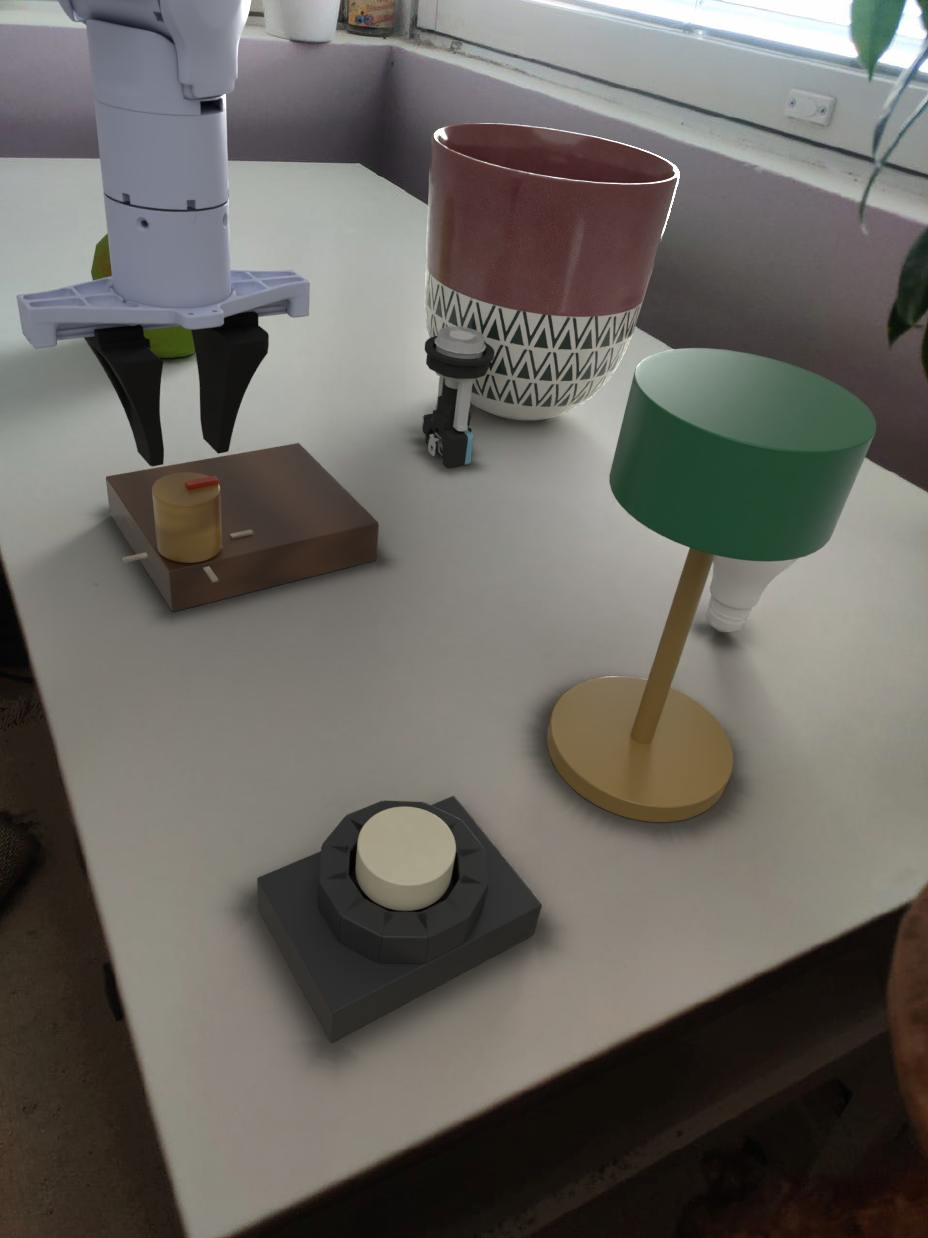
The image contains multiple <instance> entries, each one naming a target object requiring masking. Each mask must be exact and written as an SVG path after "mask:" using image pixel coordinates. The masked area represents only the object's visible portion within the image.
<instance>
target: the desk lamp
mask: <svg viewBox="0 0 928 1238" xmlns="http://www.w3.org/2000/svg"><path fill="white" fill-rule="evenodd" d="M876 431H877V422H876V418H875V416H874V414H873V412H872V411H871V410H870V408H869V407H868V405H866V404H865V403H864V402H863V401H862V400H861V399H860V398H859V397H858V396H856V395H855V394H853V393H852V392H851V391H849V390H847V389H846V388H845V387H843V386H841V385H839V384H837V383H835V382H834V381H832V380H830V379H828V378H826V377H823V376H821V375H819V374H818V373H816V372H812V371H811V370H808V369H806V368H802V367H800V366H797V365H795V364H791V363H788V362H785V361H782V360H778V359H774V358H771V357H766V356H762V355H759V354H758V355H757V354H753V353H748V352H743V351H736V350H730V349H729V350H728V349H721V348H720V349H719V348H708V347H707V348H704V347H701V348H700V347H693V348H692V347H691V348H690V347H689V348H677V349H669V350H664V351H660V352H659V351H658V352H656V353H653V354H651V355H649V356H647V357H645V358H644V359H642V360H640V362H639V363H638V365H637V366H636V367H635V369H634V372H633V376H632V379H631V384H630V388H629V392H628V396H627V401H626V405H625V409H624V413H623V418H622V421H621V426H620V430H619V434H618V438H617V441H616V446H615V450H614V455H613V460H612V463H611V467H610V471H609V475H608V477H609V480H608V481H609V482H608V483H609V486H610V490H611V493H612V494H613V497H614V498H615V500H616V502H617V503H618V504H619V505H620V506H621V508H622V509H623V510H624V511H625V512H626V513H627V514H629V516H631V517H632V518H633V519H635V520H636V521H637V522H638V523H640V524H641V525H643V526H644V527H646V528H647V529H649V530H651V531H652V532H654V533H656V534H658V535H660V536H661V537H663V538H666V539H668V540H671V541H672V542H674V543H676V544H679V545H681V546H684V547H687V548H689V549H688V552H687V555H686V557H685V561H684V563H683V564H684V565H683V568H682V569H681V574H680V577H679V580H678V582H677V586H676V589H675V593H674V596H673V599H672V602H671V604H670V608H669V612H668V614H667V617H666V621H665V624H664V628H663V631H662V634H661V637H660V640H659V642H658V646H657V650H656V652H655V656H654V659H653V661H652V665H651V668H650V672H649V674H648V677H647V679H646V678H640V677H635V676H626V675H625V676H624V675H615V676H614V675H610V676H601V677H596V678H592V679H588V680H585V681H582V682H580V683H578V684H575V685H574V686H572V687H571V688H569V689H567V691H565V692H564V693H563V694H562V695H561V696H560V697H559V699H558V700H557V701H556V703H555V705H554V706H553V709H552V712H551V715H550V718H549V723H548V727H547V732H546V744H547V746H546V747H547V750H548V753H549V757H550V759H551V761H552V764H553V766H554V767H555V769H556V771H557V772H558V773H559V775H560V777H562V779H563V780H564V781H565V783H566V784H567V785H568V786H570V788H571V789H573V790H574V791H575V792H576V793H578V795H580V796H581V797H583V798H584V799H585V800H587V801H588V802H590V803H592V804H593V805H595V806H597V807H599V808H601V809H603V810H605V811H607V812H610V813H611V814H614V815H617V816H621V817H623V818H627V819H631V820H635V821H641V822H649V823H671V822H680V821H684V820H689V819H691V818H694V817H697V816H698V815H701V814H703V813H704V812H706V811H707V810H709V809H710V808H712V807H713V806H714V805H715V804H716V803H717V802H718V801H719V800H720V798H721V797H722V796H723V793H724V792H725V789H726V787H727V784H728V782H729V781H730V778H731V775H732V771H733V768H734V754H733V748H732V744H731V742H730V738H729V737H728V735H727V733H726V731H725V730H724V727H722V725H721V723H720V722H719V721H718V720H717V719H716V717H715V716H714V715H713V714H712V713H711V712H709V711H708V709H706V708H705V707H704V706H703V705H701V704H700V703H699V702H697V701H696V700H694V699H693V698H692V697H690V696H689V695H687V694H685V693H684V692H681V691H680V690H678V689H675V688H673V687H672V684H673V680H674V679H675V675H676V672H677V669H678V666H679V663H680V660H681V657H682V654H683V651H684V647H685V645H686V642H687V640H688V636H689V634H690V630H691V627H692V625H693V621H694V619H695V615H696V612H697V611H698V610H697V609H698V608H699V605H700V604H699V603H700V601H701V599H702V595H703V592H704V589H705V586H706V583H707V580H708V577H709V575H710V572H711V568H712V567H713V560H714V557H715V555H717V556H721V557H727V558H733V559H738V560H748V561H765V562H771V561H785V560H792V559H797V558H799V559H800V558H804V557H808V556H809V555H812V554H815V553H816V552H818V551H819V550H821V549H822V548H824V547H825V546H826V545H827V544H828V542H830V540H831V538H832V536H833V534H834V532H835V530H836V527H837V524H838V522H839V520H840V517H841V515H842V513H843V510H844V507H845V506H846V503H847V501H848V498H849V496H850V494H851V491H852V489H853V487H854V484H855V483H856V479H857V477H858V475H859V473H860V470H861V468H862V466H863V463H864V460H865V458H866V456H867V454H868V451H869V449H870V446H871V444H872V443H873V442H872V441H873V439H874V437H875V434H876Z"/></svg>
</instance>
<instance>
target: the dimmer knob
mask: <svg viewBox="0 0 928 1238" xmlns="http://www.w3.org/2000/svg"><path fill="white" fill-rule="evenodd" d="M152 498H153V509H154V520H155V531H156V542H157V549H158V551H159V553H160V554H161V555H162V556H164V557H165V558H167V559H169V560H172V561H175V562H180V563H196V562H202V561H206V560H208V559H211V558H213V557H214V556H216V555H217V554H218V553H219V552H220V550H221V548H222V522H221V497H220V486H219V480H218V479H217V478H216V476H211V477H209V476H206V475H203V474H198V473H189V472H183V473H174V474H170V475H167V476H164V477H162V478H160V479H159V480H157V481H156V482H155V483H154V485H153V487H152Z"/></svg>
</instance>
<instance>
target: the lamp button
mask: <svg viewBox="0 0 928 1238" xmlns="http://www.w3.org/2000/svg"><path fill="white" fill-rule="evenodd" d="M455 854H456V843H455V839H454V836H453V834H452V832H451V830H450V829H449V827H448V826H447V825H446V824H445V822H444V821H442V820H441V819H440V818H439V817H437V816H436V815H434V814H432V813H431V812H428V811H426V810H423V809H420V808H415V807H394V808H389V809H386V810H383V811H381V812H379V813H377V814H376V815H374V816H373V817H371V818H370V819H369V820H368V821H367V822H366V823H365V824H364V826H363V827H362V829H361V831H360V833H359V837H358V842H357V854H356V866H355V872H356V878H357V881H358V884H359V885H360V887H361V889H362V890H363V892H364V893H365V894H366V895H367V896H368V897H369V898H370V899H371V900H372V901H374V902H375V903H377V904H379V905H381V906H383V907H385V908H388V909H392V910H397V911H413V910H419V909H422V908H425V907H427V906H429V905H431V904H433V903H435V902H436V901H437V900H439V899H440V898H441V897H442V896H443V894H444V893H445V892H446V890H447V889H448V887H449V884H450V881H451V876H452V871H453V865H454V859H455Z"/></svg>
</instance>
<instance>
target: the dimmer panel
mask: <svg viewBox="0 0 928 1238" xmlns="http://www.w3.org/2000/svg"><path fill="white" fill-rule="evenodd" d="M183 472H189V473H198V474H203V475H206V476H209V477H211V476H216V478H217V479H218V480H219V486H220V497H221V522H222V548H221V550H220V552H219V553H218V554H217V555H216V556H214V557H213V558H211V559H208V560H206V561H202V562H196V563H180V562H175V561H172V560H169V559H167V558H165V557H164V556H162V555H161V554H160V553H159V551H158V549H157V542H156V531H155V520H154V509H153V498H152V487H153V485H154V483H155V482H156V481H157V480H159V479H160V478H162V477H164V476H167V475H170V474H174V473H183ZM105 484H106V493H107V499H108V508H109V515H110V517H111V518H112V519H113V521H114V523H115V525H116V526H117V528H118V529H119V531H120V532H121V533H122V535H123V537H124V539H125V540H126V542H127V543H128V544H129V545H128V546H130V548H131V549H132V551H133V552H134V554H132V555H128V556H123V557H121V559H122V561H123V563H129V562H134V561H138V560H139V562H140V563H141V565H142V567H143V568H144V570H145V571H146V573H147V575H148V576H149V578H150V579H151V580H152V582H153V584H154V585H155V587H156V588H157V590H158V592H159V593H160V594H161V596H162V598H163V599H164V600H165V603H166V604H167V606H168V608H170V610H171V612H178V611H182V610H186V609H189V608H194V607H197V606H202V605H205V604H209V603H214V602H217V601H221V600H226V599H229V598H233V597H237V596H240V595H245V594H248V593H249V594H250V593H253V592H257V591H260V590H264V589H269V588H273V587H276V586H281V585H285V584H288V583H293V582H296V581H300V580H304V579H308V578H312V577H316V576H320V575H324V574H327V573H332V572H336V571H340V570H343V569H347V568H351V567H355V566H359V565H364V564H368V563H371V562H375V561H377V553H378V542H379V541H378V540H379V528H380V523H379V521H378V520H377V519H376V518H375V517H374V516H373V515H371V513H370V512H369V511H368V510H367V509H366V508H365V507H364V506H363V505H361V503H360V502H359V501H358V500H357V499H356V498H354V496H353V495H352V494H351V493H350V492H349V491H348V490H347V489H346V488H345V487H344V485H343V486H342V484H341V483H340V482H339V481H338V480H337V479H336V478H335V477H334V476H333V475H332V474H331V473H330V472H329V471H328V470H327V469H326V468H325V467H324V466H323V465H322V464H321V463H320V462H319V461H318V460H317V459H316V458H315V457H314V456H313V455H312V454H311V453H310V452H309V451H308V450H307V449H306V448H305V447H304V446H303V445H302V444H301V443H300V442H296V443H291V444H285V445H279V446H273V447H267V448H262V449H255V450H250V451H244V452H239V453H232V454H227V455H220V456H216V457H210V458H205V459H198V460H193V461H187V462H181V463H176V464H170V465H164V466H159V467H158V466H157V467H153V468H152V467H151V468H146V469H141V470H135V471H129V472H123V473H118V474H112V475H107V476H105Z"/></svg>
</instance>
